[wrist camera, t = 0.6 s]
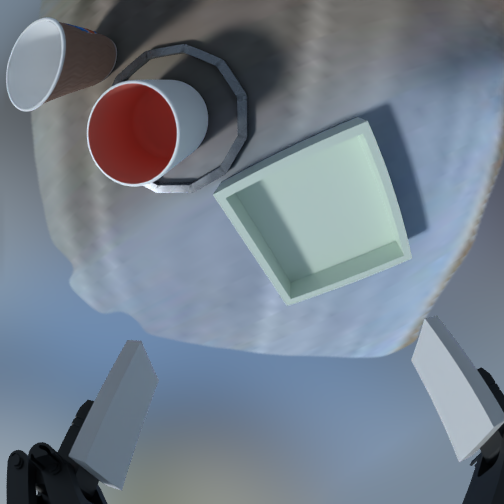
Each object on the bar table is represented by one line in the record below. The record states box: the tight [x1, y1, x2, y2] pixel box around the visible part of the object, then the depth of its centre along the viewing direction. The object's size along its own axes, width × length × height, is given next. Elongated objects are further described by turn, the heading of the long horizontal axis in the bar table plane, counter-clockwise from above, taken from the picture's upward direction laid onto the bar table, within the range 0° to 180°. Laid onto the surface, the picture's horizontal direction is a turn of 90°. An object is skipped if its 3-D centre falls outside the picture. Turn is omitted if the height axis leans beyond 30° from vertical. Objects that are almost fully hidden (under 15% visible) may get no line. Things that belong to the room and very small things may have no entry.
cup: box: [87, 80, 208, 186], centre depth 25 cm, size 10×10×10 cm
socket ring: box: [112, 44, 248, 193], centre depth 28 cm, size 18×18×1 cm
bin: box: [213, 117, 412, 306], centre depth 32 cm, size 18×18×4 cm
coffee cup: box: [6, 17, 117, 111], centre depth 19 cm, size 10×10×12 cm
